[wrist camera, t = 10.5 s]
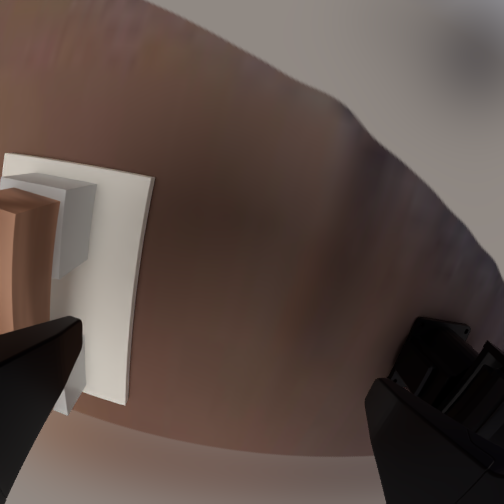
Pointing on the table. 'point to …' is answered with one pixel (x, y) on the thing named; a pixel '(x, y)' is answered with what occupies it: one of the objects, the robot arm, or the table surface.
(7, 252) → the terracotta bar
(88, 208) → the display stand
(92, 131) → the table surface
